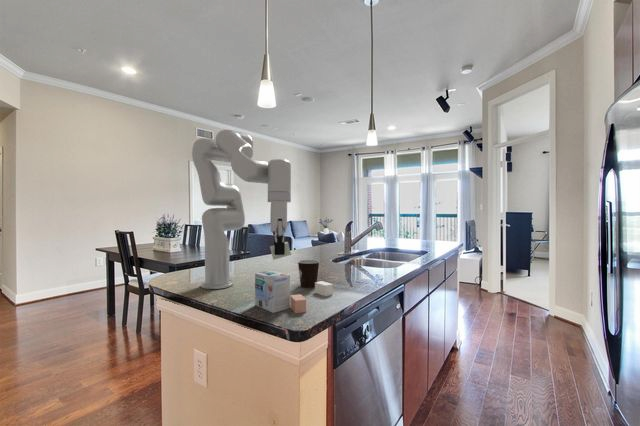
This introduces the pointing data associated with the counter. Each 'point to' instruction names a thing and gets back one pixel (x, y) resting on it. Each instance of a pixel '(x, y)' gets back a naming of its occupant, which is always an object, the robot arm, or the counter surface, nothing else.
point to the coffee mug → (308, 272)
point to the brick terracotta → (298, 303)
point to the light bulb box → (272, 291)
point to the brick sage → (287, 253)
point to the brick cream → (324, 288)
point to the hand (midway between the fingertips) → (279, 253)
